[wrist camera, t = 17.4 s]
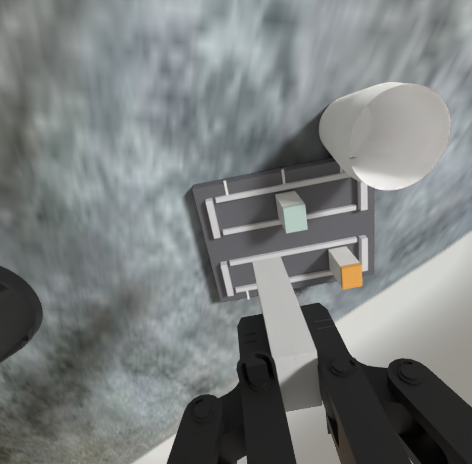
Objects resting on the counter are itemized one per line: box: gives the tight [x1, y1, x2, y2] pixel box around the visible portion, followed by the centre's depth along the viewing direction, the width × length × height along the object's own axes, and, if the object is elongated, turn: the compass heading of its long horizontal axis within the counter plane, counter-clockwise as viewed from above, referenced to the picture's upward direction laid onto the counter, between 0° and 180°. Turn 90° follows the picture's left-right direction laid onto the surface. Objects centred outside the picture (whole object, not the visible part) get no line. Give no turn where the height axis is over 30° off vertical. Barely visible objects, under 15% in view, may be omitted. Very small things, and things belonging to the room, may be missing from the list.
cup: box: [319, 82, 451, 190], centre depth 32 cm, size 9×9×12 cm
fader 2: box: [328, 246, 362, 290], centre depth 40 cm, size 2×3×5 cm
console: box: [192, 157, 374, 302], centre depth 41 cm, size 22×18×3 cm
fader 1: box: [275, 191, 308, 234], centre depth 36 cm, size 2×3×5 cm
